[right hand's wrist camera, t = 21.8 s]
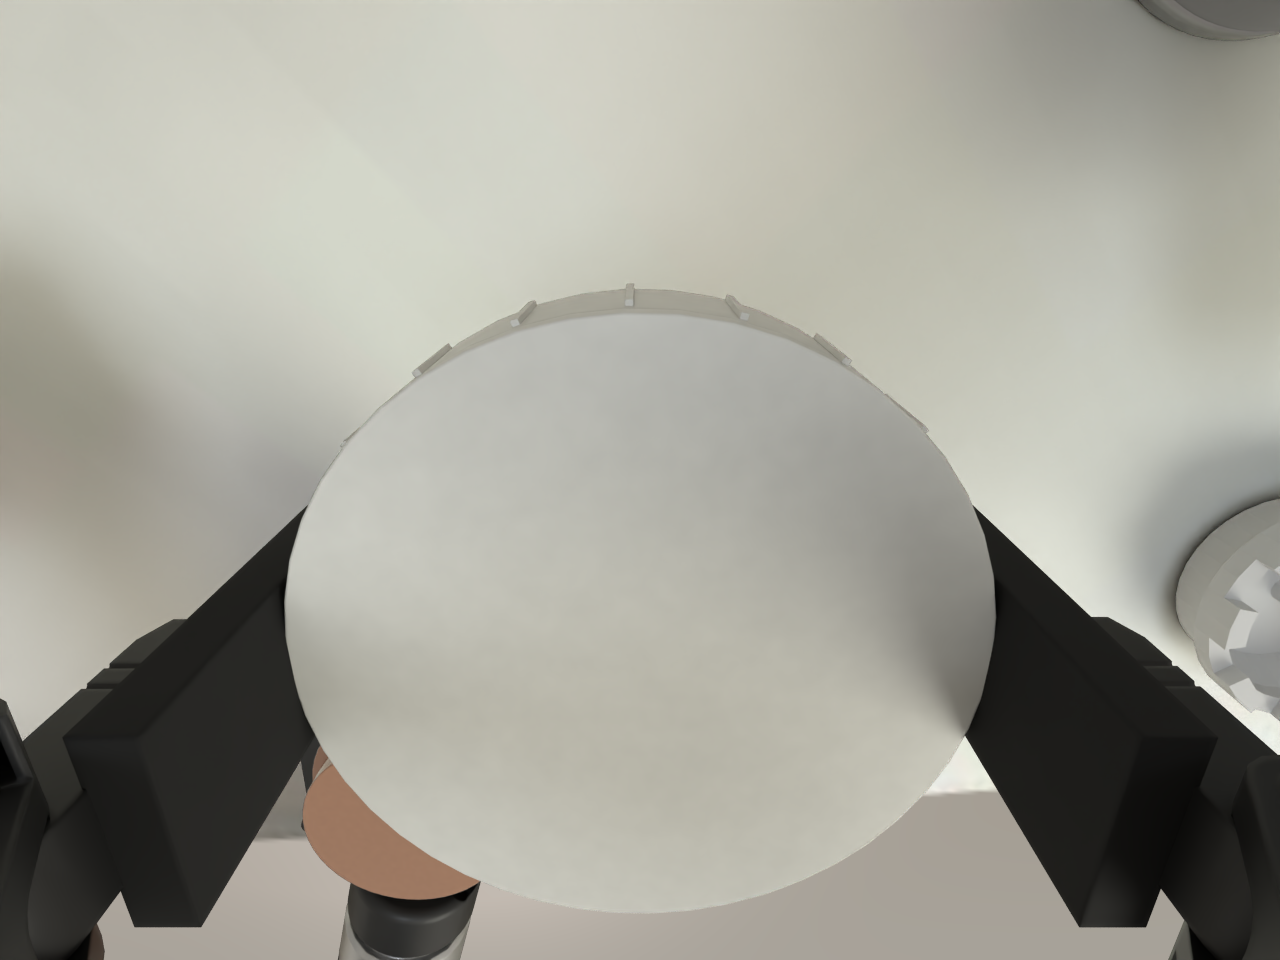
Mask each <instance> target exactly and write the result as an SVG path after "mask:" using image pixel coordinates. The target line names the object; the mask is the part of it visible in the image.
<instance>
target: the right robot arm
mask: <svg viewBox="0 0 1280 960" xmlns="http://www.w3.org/2000/svg"><path fill="white" fill-rule="evenodd" d="M1138 1H1139V2H1140V3H1141V4H1142V5H1143V6H1144V7H1145V8H1146V9H1147V10H1149V11H1150V12H1151V13H1152V14H1153V15H1155V16H1156V17H1157V18H1159V19H1160V20H1162V21H1163V22H1164V23H1166V24H1168V25H1170V26H1172V27H1174V28H1176V29H1178V30H1180V31H1183V32H1185V33H1188V34H1191V35H1194V36H1198V37H1203V38H1207V39H1215V40H1224V41H1228V40H1248V39H1256V38H1261V37H1266V36H1270V35H1275V34H1279V33H1280V0H1138ZM972 506H973V505H972ZM307 507H308V505H307V506H306V507H305V508H304V509H303V510H302V511H301V512H300V513H299V514H298V515H297V516H296V517H295V518H294V519H293V520H292V521H291V522H289V523H288V524H287V525H286V526H285V527H284V528H283V529H282V530H281V531H280V532H279V533H278V534H277V535H276V536H275V537H274V538H273V539H271V540H270V541H269V542H268V543H267V544H266V545H265V546H264V547H263V548H262V549H261V550H260V551H259V552H258V553H257V554H256V555H255V556H253V557H252V558H251V559H250V560H249V561H248V562H247V563H246V564H245V565H244V566H243V567H242V568H241V569H240V570H239V571H238V572H237V573H235V574H234V575H233V576H232V577H231V578H230V579H229V580H228V581H227V582H226V583H225V584H224V585H223V586H222V587H221V588H220V589H219V590H217V591H216V592H215V593H214V594H213V595H212V596H211V597H210V598H209V599H208V600H207V601H206V602H205V603H204V604H203V605H202V606H201V607H200V608H198V609H197V610H196V611H195V612H194V613H193V614H192V615H191V616H190V617H189V618H188V619H173V620H171V621H170V622H168V623H166V624H164V625H162V626H161V627H159V628H157V629H155V630H153V631H152V632H150V633H148V634H146V635H144V636H142V637H141V638H139V639H137V640H136V641H135V642H133V643H132V644H131V645H130V646H129V647H128V648H127V649H126V650H124V651H123V652H122V653H121V654H120V655H119V656H118V657H117V658H116V659H114V660H113V661H112V662H111V663H110V667H109V669H103V670H102V671H101V672H100V673H99V674H98V675H96V676H95V677H94V678H93V679H92V680H91V681H90V682H89V683H87V688H86V689H81V690H80V691H78V692H77V693H76V694H75V695H74V696H73V697H72V698H71V699H69V700H68V701H67V702H66V703H65V704H64V705H63V706H62V707H61V708H59V709H58V710H57V711H56V712H55V713H54V714H53V715H52V716H50V717H49V718H48V719H47V720H46V721H45V722H44V723H43V724H41V725H40V726H39V727H38V728H37V729H36V730H35V731H34V732H32V733H31V734H30V735H29V736H28V737H27V738H26V739H25V740H23V741H22V739H21V737H20V734H19V732H18V730H17V727H16V725H15V722H14V720H13V717H12V715H11V712H10V710H9V708H8V705H7V703H6V701H4V700H2V699H0V960H104V952H105V951H104V945H103V940H102V935H101V933H100V930H99V928H98V925H97V922H98V921H99V919H100V918H101V917H102V915H103V914H104V913H105V911H106V910H107V909H108V907H109V906H110V904H111V903H112V902H113V900H114V899H115V898H116V896H117V895H118V894H119V892H120V891H121V893H122V896H123V898H124V901H125V903H126V906H127V909H128V911H129V914H130V917H131V919H132V922H133V924H134V927H202V925H203V923H204V922H205V920H206V918H207V917H208V915H209V913H210V911H211V910H212V908H213V906H214V905H215V903H216V901H217V900H218V898H219V896H220V895H221V893H222V891H223V890H224V888H225V886H226V885H227V883H228V881H229V880H230V878H231V876H232V875H233V873H234V871H235V870H236V868H237V866H238V865H239V863H240V861H241V859H242V858H243V856H244V854H245V853H246V851H247V849H248V848H249V846H250V844H251V843H252V841H253V839H254V838H255V836H256V834H257V833H258V831H259V829H260V828H261V826H262V824H263V823H264V821H265V819H266V818H267V816H268V814H269V813H270V811H271V809H272V808H273V806H274V804H275V802H276V801H277V799H278V797H279V796H280V794H281V792H282V791H283V789H284V787H285V786H286V784H287V782H288V781H289V779H290V777H291V776H292V774H293V772H294V771H295V769H296V767H297V766H298V764H299V762H300V761H301V759H302V757H303V756H304V754H305V752H306V750H307V749H308V747H309V745H310V744H311V742H312V740H313V739H314V737H315V734H314V732H313V730H312V728H311V726H310V724H309V722H308V720H307V718H306V716H305V713H304V710H303V708H302V705H301V702H300V699H299V696H298V692H297V688H296V684H295V680H294V675H293V670H292V666H291V661H290V656H289V651H288V647H287V642H286V636H285V609H284V599H285V591H286V583H287V576H288V568H289V560H290V556H291V553H292V550H293V546H294V543H295V540H296V536H297V533H298V529H299V526H300V523H301V519H302V517H303V515H304V513H305V511H306V509H307ZM973 508H974V511H975V513H976V515H977V518H978V520H979V523H980V525H981V528H982V530H983V533H984V535H985V540H986V544H987V549H988V553H989V558H990V562H991V566H992V571H993V575H994V590H995V606H996V625H995V636H994V642H993V647H992V652H991V657H990V662H989V666H988V671H987V675H986V680H985V684H984V688H983V693H982V697H981V700H980V703H979V705H978V707H977V710H976V712H975V715H974V717H973V720H972V722H971V724H970V727H969V729H968V731H967V733H966V734H965V736H966V738H967V740H968V741H969V743H970V745H971V746H972V748H973V750H974V751H975V753H976V755H977V756H978V758H979V760H980V761H981V763H982V765H983V766H984V768H985V770H986V772H987V773H988V775H989V777H990V778H991V780H992V782H993V783H994V785H995V787H996V788H997V790H998V792H999V793H1000V795H1001V797H1002V798H1003V800H1004V802H1005V803H1006V805H1007V807H1008V808H1009V810H1010V812H1011V813H1012V815H1013V817H1014V818H1015V820H1016V822H1017V824H1018V825H1019V827H1020V829H1021V830H1022V832H1023V834H1024V835H1025V837H1026V839H1027V840H1028V842H1029V844H1030V845H1031V847H1032V849H1033V850H1034V852H1035V854H1036V855H1037V857H1038V859H1039V860H1040V862H1041V864H1042V865H1043V867H1044V869H1045V870H1046V872H1047V874H1048V875H1049V877H1050V879H1051V881H1052V882H1053V884H1054V886H1055V887H1056V889H1057V891H1058V892H1059V894H1060V896H1061V897H1062V899H1063V901H1064V902H1065V904H1066V906H1067V907H1068V909H1069V911H1070V912H1071V914H1072V916H1073V917H1074V919H1075V921H1076V922H1077V924H1078V926H1079V927H1146V926H1147V923H1148V921H1149V918H1150V915H1151V913H1152V910H1153V908H1154V905H1155V902H1156V900H1157V897H1158V895H1159V892H1160V889H1162V890H1163V892H1164V893H1165V894H1166V896H1167V897H1168V898H1169V900H1170V901H1171V902H1172V904H1173V905H1174V907H1175V908H1176V909H1177V911H1178V912H1179V913H1180V915H1181V916H1182V917H1183V919H1184V923H1183V925H1182V928H1181V930H1180V932H1179V935H1178V937H1177V940H1176V942H1175V945H1174V947H1173V950H1172V952H1171V955H1170V957H1169V959H1168V960H1280V755H1277V754H1276V753H1275V752H1274V751H1273V750H1272V749H1270V748H1269V747H1268V746H1267V745H1266V744H1265V743H1264V742H1263V741H1261V740H1260V739H1259V738H1258V737H1257V736H1256V735H1255V734H1254V733H1252V732H1251V731H1250V730H1249V729H1248V728H1247V727H1246V726H1244V725H1243V724H1242V723H1241V722H1240V721H1239V720H1238V719H1237V718H1235V717H1234V716H1233V715H1232V714H1231V713H1230V712H1229V711H1227V710H1226V709H1225V708H1224V707H1223V706H1222V705H1221V704H1220V703H1218V702H1217V701H1216V700H1215V699H1214V698H1213V697H1212V696H1211V695H1209V694H1208V693H1207V692H1206V691H1205V690H1204V689H1203V688H1201V687H1200V686H1195V684H1194V680H1192V679H1191V678H1190V677H1189V676H1188V675H1187V674H1186V673H1185V672H1183V671H1182V670H1181V669H1180V668H1179V667H1178V666H1172V661H1171V660H1170V659H1169V658H1168V657H1166V656H1165V655H1164V654H1163V653H1162V652H1161V651H1160V650H1159V649H1157V648H1156V647H1155V646H1154V645H1153V644H1152V643H1151V642H1149V641H1148V640H1147V639H1146V638H1145V637H1143V636H1141V635H1140V634H1138V633H1136V632H1134V631H1132V630H1130V629H1129V628H1127V627H1125V626H1123V625H1121V624H1120V623H1118V622H1116V621H1114V620H1112V619H1110V618H1109V617H1091V616H1089V615H1088V614H1087V613H1086V612H1085V611H1084V610H1083V609H1082V608H1081V607H1080V606H1079V605H1078V604H1077V603H1076V602H1075V601H1074V600H1073V599H1071V598H1070V597H1069V596H1068V595H1067V594H1066V593H1065V592H1064V591H1063V590H1062V589H1061V588H1060V587H1059V586H1058V585H1057V584H1056V583H1055V582H1053V581H1052V580H1051V579H1050V578H1049V577H1048V576H1047V575H1046V574H1045V573H1044V572H1043V571H1042V570H1041V569H1040V568H1039V567H1038V566H1037V565H1035V564H1034V563H1033V562H1032V561H1031V560H1030V559H1029V558H1028V557H1027V556H1026V555H1025V554H1024V553H1023V552H1022V551H1021V550H1020V549H1019V548H1017V547H1016V546H1015V545H1014V544H1013V543H1012V542H1011V541H1010V540H1009V539H1008V538H1007V537H1006V536H1005V535H1004V534H1003V533H1002V532H1001V531H999V530H998V529H997V528H996V527H995V526H994V525H993V524H992V523H991V522H990V521H989V520H988V519H987V518H986V517H985V516H984V515H983V514H981V513H980V512H979V511H978V510H977V509H976V508H975V507H974V506H973Z"/></svg>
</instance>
